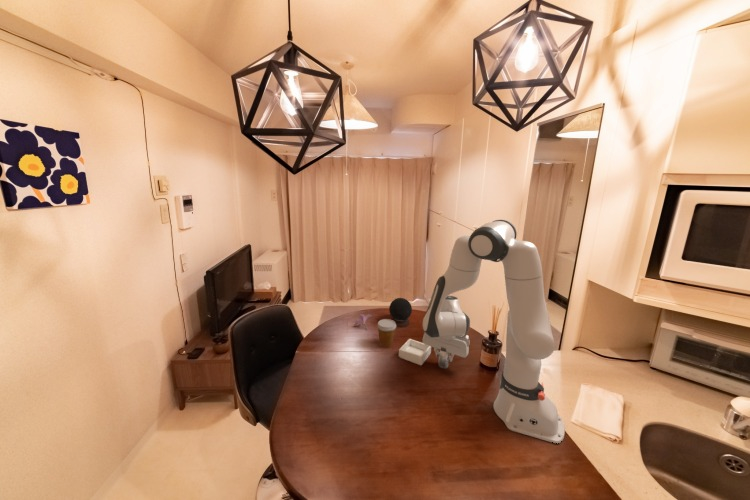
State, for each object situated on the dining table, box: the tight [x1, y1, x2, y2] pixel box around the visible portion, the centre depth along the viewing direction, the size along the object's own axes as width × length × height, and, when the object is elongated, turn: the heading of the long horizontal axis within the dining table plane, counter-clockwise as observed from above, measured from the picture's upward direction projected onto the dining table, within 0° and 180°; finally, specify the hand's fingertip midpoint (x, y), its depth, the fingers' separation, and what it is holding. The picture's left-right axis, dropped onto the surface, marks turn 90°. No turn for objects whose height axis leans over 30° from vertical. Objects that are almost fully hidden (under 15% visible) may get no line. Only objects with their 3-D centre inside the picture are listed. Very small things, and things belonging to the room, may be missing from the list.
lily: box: [352, 313, 373, 331], centre depth 161 cm, size 12×12×10 cm
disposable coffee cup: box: [376, 318, 397, 349], centre depth 145 cm, size 10×10×12 cm
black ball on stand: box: [388, 297, 413, 328], centre depth 167 cm, size 13×13×15 cm
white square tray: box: [398, 338, 432, 366], centre depth 137 cm, size 12×12×4 cm
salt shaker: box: [437, 347, 450, 369], centre depth 129 cm, size 4×4×11 cm
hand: (443, 358), depth 130 cm, fingers closed on salt shaker, 4 cm apart
